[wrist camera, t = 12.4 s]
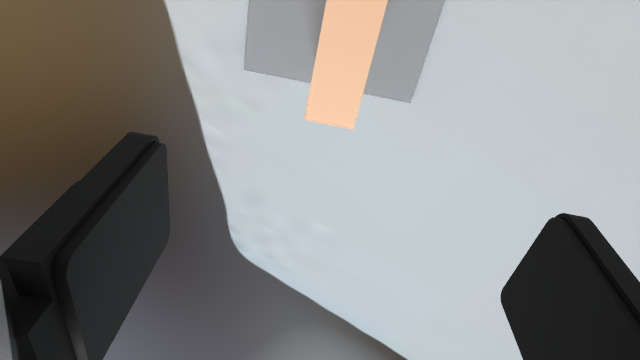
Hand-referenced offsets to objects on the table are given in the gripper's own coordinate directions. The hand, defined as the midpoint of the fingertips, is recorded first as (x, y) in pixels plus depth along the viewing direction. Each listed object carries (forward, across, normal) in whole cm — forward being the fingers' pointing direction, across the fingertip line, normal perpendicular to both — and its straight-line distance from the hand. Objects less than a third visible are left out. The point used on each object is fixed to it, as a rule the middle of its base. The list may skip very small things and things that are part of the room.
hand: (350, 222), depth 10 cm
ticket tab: (+24, 0, 0) cm, 24 cm away
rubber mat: (+24, 0, 0) cm, 24 cm away
